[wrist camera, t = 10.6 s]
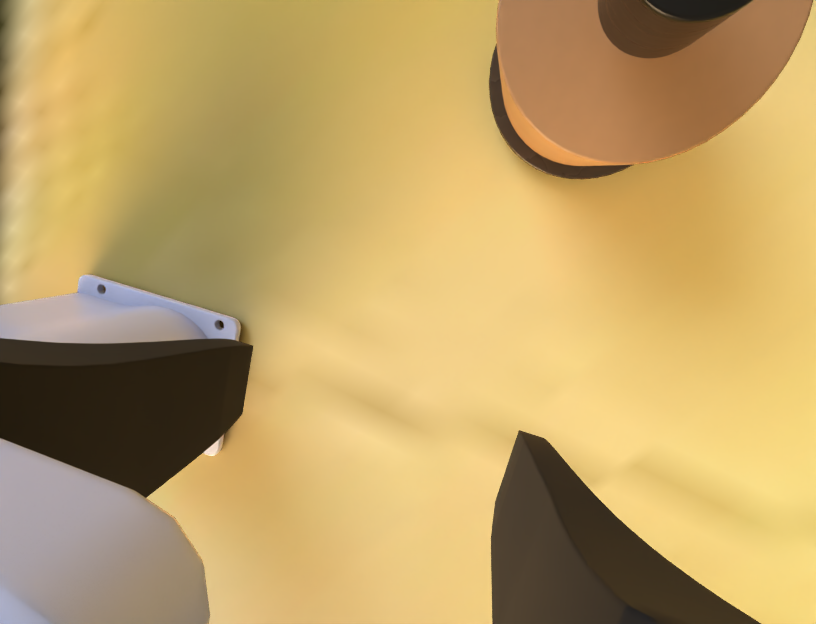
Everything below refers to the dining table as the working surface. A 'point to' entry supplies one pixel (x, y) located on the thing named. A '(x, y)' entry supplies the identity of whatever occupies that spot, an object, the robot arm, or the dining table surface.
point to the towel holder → (631, 76)
